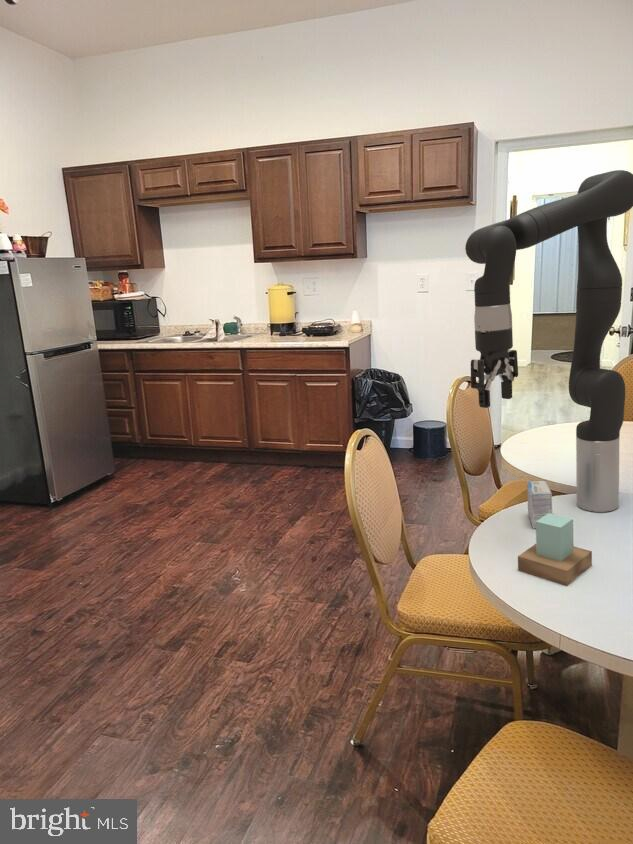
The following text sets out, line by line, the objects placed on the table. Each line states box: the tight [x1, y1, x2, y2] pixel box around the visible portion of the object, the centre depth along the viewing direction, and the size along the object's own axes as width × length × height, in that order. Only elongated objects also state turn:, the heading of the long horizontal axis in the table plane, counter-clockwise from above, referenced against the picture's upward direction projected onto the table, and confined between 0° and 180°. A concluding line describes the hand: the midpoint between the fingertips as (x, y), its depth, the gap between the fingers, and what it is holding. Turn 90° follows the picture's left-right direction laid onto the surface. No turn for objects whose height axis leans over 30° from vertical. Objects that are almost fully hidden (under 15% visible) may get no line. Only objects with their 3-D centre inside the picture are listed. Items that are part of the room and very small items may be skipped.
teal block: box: [535, 513, 574, 561], centre depth 118 cm, size 5×5×7 cm
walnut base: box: [517, 543, 593, 587], centre depth 119 cm, size 10×10×3 cm
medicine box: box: [526, 480, 553, 530], centre depth 140 cm, size 8×4×9 cm, turn 168°
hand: (496, 402), depth 130 cm, fingers open, 8 cm apart
